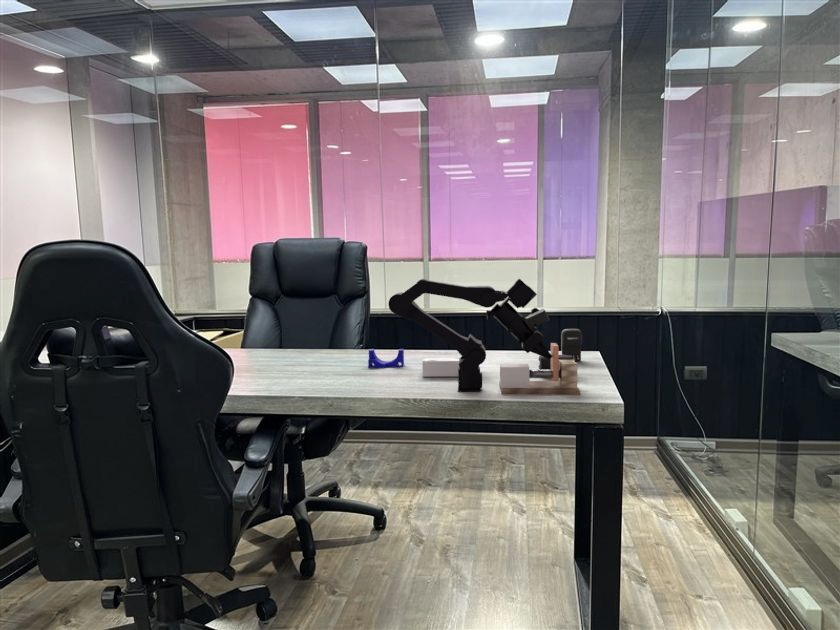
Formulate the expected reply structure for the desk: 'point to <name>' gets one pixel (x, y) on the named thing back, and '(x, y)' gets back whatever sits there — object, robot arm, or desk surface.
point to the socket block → (568, 374)
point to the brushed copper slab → (554, 371)
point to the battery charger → (571, 343)
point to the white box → (440, 366)
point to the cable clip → (384, 364)
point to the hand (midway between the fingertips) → (550, 357)
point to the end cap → (546, 363)
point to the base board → (542, 389)
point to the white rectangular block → (514, 375)
